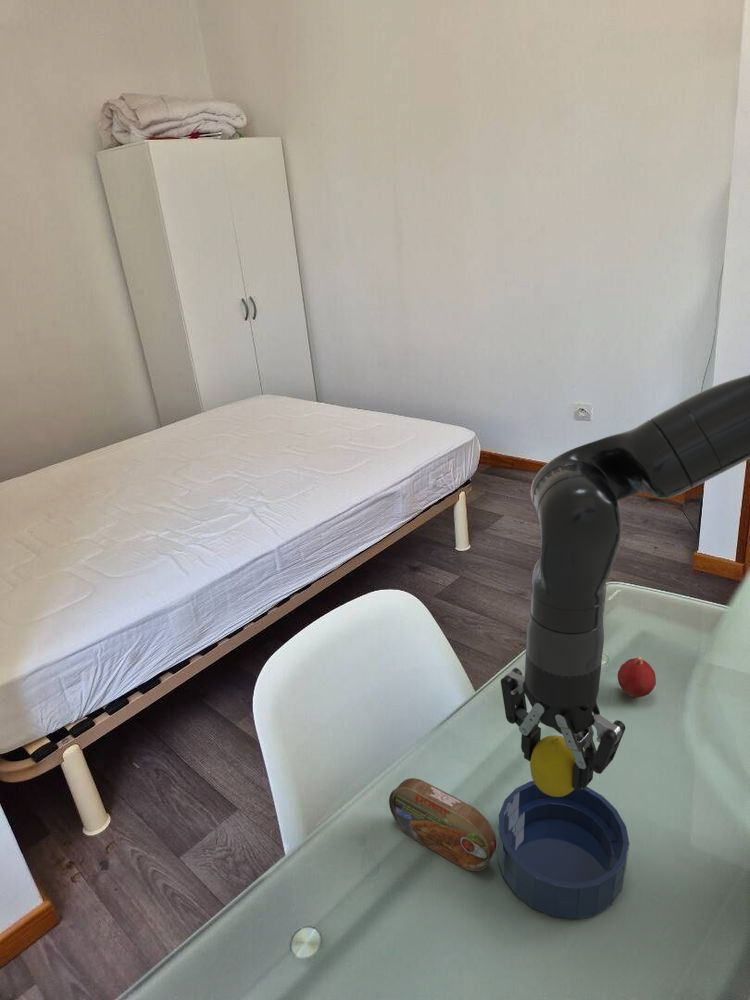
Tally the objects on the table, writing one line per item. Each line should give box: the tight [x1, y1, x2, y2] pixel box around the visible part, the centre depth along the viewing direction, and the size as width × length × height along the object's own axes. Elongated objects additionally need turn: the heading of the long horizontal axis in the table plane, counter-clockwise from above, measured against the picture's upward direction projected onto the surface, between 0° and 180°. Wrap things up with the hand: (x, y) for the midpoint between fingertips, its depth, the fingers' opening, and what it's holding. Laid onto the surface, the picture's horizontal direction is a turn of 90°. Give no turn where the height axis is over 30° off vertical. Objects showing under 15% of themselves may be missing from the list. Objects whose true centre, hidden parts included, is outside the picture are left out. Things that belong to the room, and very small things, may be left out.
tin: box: [388, 777, 497, 872], centre depth 88 cm, size 15×3×8 cm, turn 53°
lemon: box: [529, 735, 576, 797], centre depth 77 cm, size 6×6×8 cm
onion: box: [617, 656, 657, 699], centre depth 111 cm, size 6×6×8 cm
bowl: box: [497, 780, 630, 920], centre depth 86 cm, size 15×15×6 cm
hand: (555, 769), depth 77 cm, fingers closed on lemon, 5 cm apart
